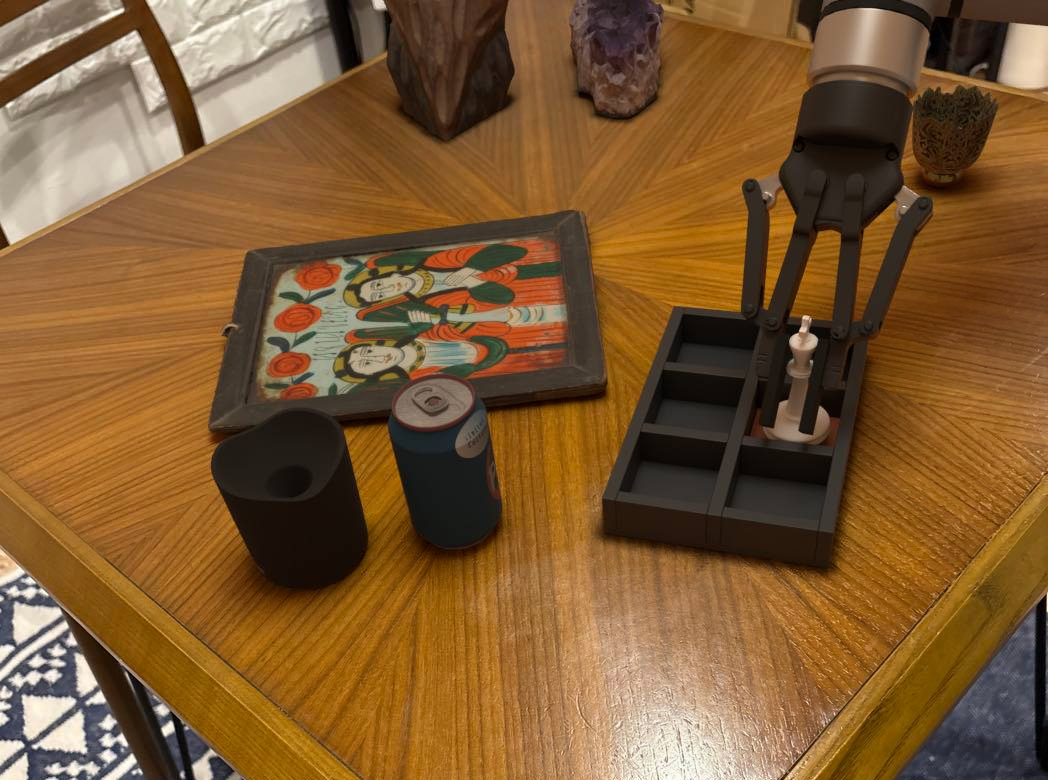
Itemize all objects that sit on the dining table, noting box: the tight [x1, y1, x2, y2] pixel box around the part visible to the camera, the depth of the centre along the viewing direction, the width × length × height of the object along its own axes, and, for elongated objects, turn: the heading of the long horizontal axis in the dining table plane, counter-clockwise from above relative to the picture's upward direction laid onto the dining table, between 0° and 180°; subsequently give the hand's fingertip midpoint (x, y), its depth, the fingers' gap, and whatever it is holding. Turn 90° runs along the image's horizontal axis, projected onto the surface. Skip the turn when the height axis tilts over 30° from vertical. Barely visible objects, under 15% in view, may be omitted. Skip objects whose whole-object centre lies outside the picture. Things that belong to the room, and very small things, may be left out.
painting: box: [207, 209, 609, 434], centre depth 101 cm, size 28×35×2 cm
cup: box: [911, 84, 1000, 188], centre depth 105 cm, size 8×7×8 cm
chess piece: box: [763, 315, 830, 445], centre depth 80 cm, size 5×5×10 cm
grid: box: [601, 305, 870, 569], centre depth 84 cm, size 16×24×4 cm
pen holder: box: [210, 407, 369, 591], centre depth 79 cm, size 9×9×10 cm
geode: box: [568, 0, 665, 119], centre depth 127 cm, size 20×12×10 cm, turn 2°
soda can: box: [387, 374, 503, 550], centre depth 79 cm, size 7×7×12 cm
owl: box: [382, 0, 516, 142], centre depth 123 cm, size 13×13×20 cm
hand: (785, 429), depth 79 cm, fingers closed on chess piece, 2 cm apart
